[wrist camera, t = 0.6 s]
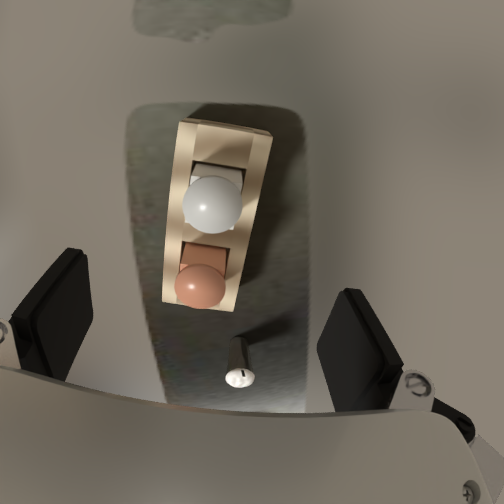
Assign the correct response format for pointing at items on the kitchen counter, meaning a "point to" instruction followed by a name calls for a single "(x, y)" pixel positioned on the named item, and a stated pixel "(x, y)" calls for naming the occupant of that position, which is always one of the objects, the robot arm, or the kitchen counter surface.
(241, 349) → the milkshake
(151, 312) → the kitchen counter surface
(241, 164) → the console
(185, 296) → the terracotta button
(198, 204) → the grey button
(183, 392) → the kitchen counter surface
